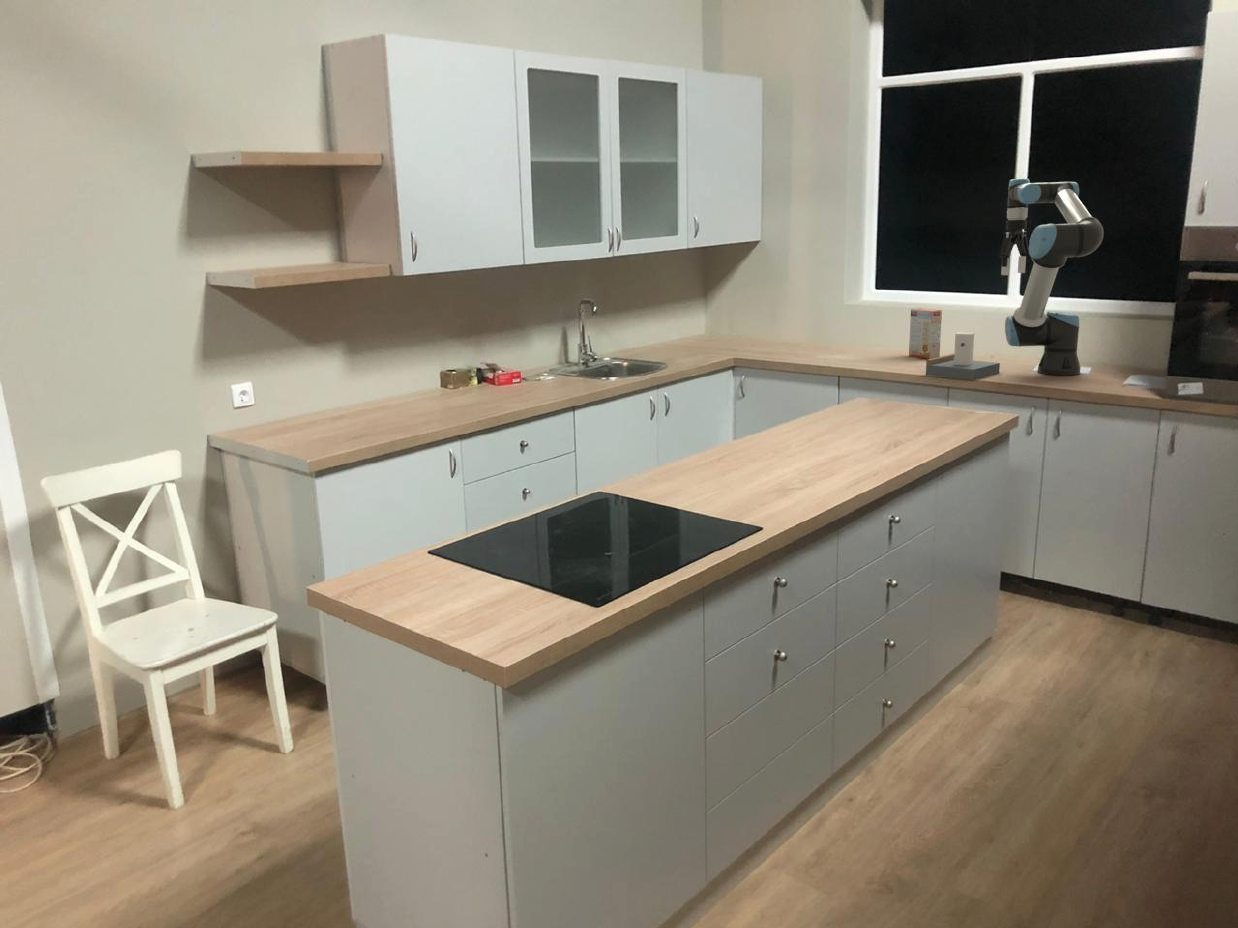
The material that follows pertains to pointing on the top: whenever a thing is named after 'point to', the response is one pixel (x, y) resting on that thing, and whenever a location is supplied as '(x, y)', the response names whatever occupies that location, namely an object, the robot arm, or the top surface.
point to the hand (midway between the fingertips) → (1013, 274)
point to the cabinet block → (964, 348)
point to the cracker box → (925, 333)
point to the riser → (960, 368)
